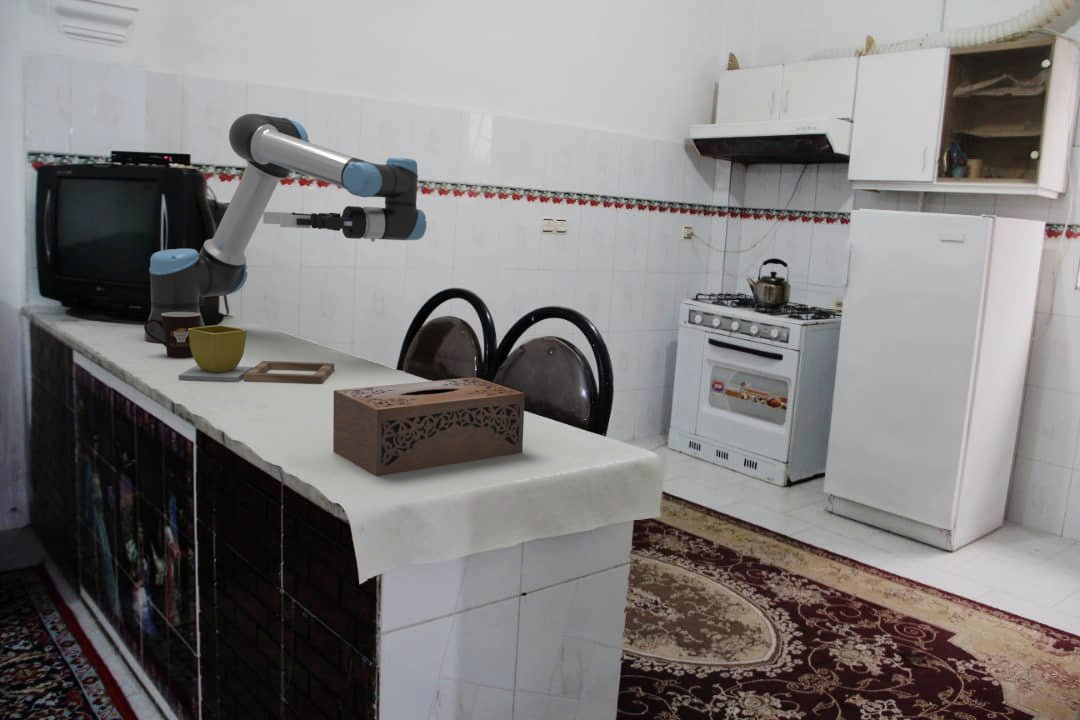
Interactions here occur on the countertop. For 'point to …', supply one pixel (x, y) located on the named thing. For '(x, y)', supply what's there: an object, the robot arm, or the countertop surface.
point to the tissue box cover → (426, 424)
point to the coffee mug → (177, 332)
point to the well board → (260, 374)
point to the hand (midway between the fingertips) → (271, 219)
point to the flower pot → (217, 347)
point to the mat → (214, 374)
